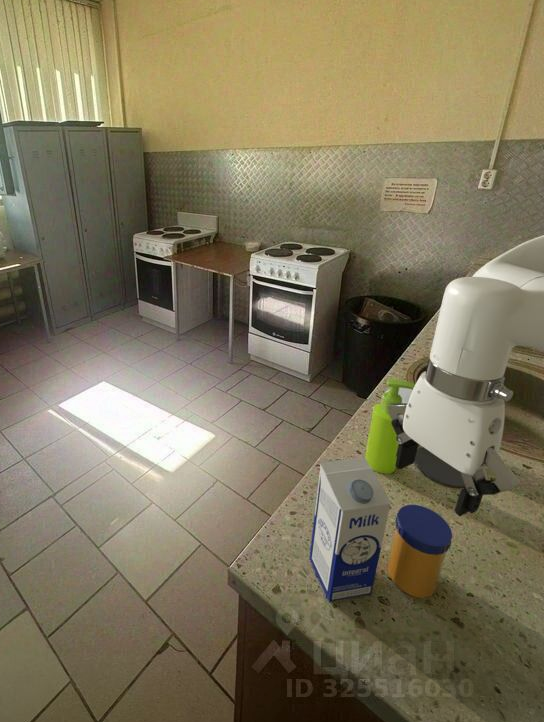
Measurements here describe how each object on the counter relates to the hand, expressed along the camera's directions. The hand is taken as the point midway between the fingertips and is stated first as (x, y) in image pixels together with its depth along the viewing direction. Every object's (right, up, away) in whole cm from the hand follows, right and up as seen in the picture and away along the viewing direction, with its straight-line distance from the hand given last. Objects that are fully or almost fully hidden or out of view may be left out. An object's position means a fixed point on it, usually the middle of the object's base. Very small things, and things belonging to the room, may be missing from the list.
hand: (432, 486), depth 55 cm
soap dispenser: (+7, -9, +28) cm, 31 cm away
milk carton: (-10, -17, +7) cm, 21 cm away
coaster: (+19, -9, +27) cm, 34 cm away
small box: (+15, -5, +38) cm, 41 cm away
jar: (+1, -17, +7) cm, 18 cm away
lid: (0, -7, +3) cm, 8 cm away
